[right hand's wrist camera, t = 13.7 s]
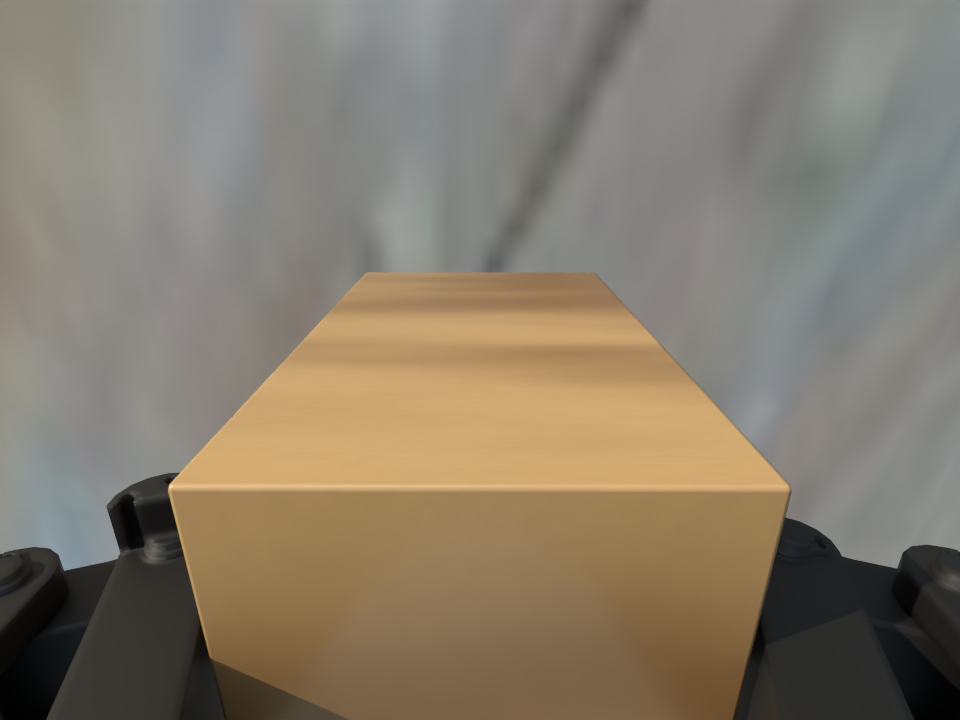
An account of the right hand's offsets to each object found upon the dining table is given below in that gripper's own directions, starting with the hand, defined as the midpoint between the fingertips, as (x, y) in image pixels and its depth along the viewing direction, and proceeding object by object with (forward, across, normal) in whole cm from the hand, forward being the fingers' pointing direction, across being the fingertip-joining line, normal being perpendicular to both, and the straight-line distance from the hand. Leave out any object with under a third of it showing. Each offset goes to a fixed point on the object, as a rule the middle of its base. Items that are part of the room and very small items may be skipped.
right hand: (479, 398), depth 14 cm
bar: (+1, 0, -9) cm, 9 cm away
